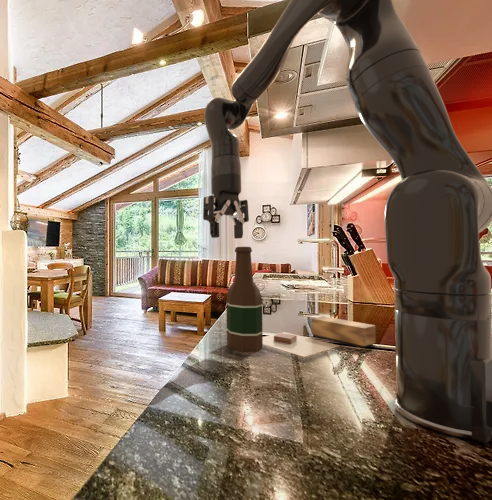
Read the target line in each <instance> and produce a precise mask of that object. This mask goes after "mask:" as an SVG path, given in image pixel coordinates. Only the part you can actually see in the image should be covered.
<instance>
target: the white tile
mask: <svg viewBox="0 0 492 500" xmlns="http://www.w3.org/2000/svg"><path fill="white" fill-rule="evenodd" d="M279 333H280V332H279ZM279 333H275V334H270V335H265V336H263V346H267V347H270V348H274V349H276V350H279V351H284V352H285V353H286V352H287V353H290V354H293V355H296V356H299V357H303V358H306V357H309V356H312V355H316V354H319V353H322V352H325V351H328V350H331V349H335V348H338V347H340V345H339V344H334V343H331V342H327V341H322V340H318V339H315V338H311V337H307V336H303V335H299V334H294V333H290V332H287V331H286V332H285V331H283V332H282V333H284V334H290V335H296V336H297V341H295V342H293V343H292V344H288V343H283V342H278V341H274V336H275V335H277V334H279Z"/></svg>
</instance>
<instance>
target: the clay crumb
mask: <svg viewBox="0 0 492 500" xmlns="http://www.w3.org/2000/svg"><path fill="white" fill-rule="evenodd" d="M276 334H277V335H275V336H274V341H278V342H283V343H288V344H292V343H293V342H295V341H297V336H296V335H297V334H294V335H290V334H291V333H290V334H284V333H283V332H279V334H278V333H276Z"/></svg>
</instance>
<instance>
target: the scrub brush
mask: <svg viewBox="0 0 492 500" xmlns="http://www.w3.org/2000/svg"><path fill="white" fill-rule="evenodd" d="M310 319H311V321H310V322H311V323H310V324H311V326H310V327H311V335H313V337H314V338H318V339H324V340H327V341H331V342H336V343H340V344H344V345H348V346H352V347H357V348H361V349H364V348H368V347H371V346H373V345H374V344H375V343H377V340H376V339H377V333H376V329H377V328H376V325H375V324H371V323H363V322H358V321H353V320H348V319H341V318H335V317H330V316H323V315H321V316H316V317H312V318H310Z"/></svg>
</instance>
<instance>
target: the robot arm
mask: <svg viewBox="0 0 492 500" xmlns="http://www.w3.org/2000/svg"><path fill="white" fill-rule="evenodd" d="M316 16H320V17H321V18H323V19H325V20H327V21H329V22H331V23H332V24H334V25H335V27H336V28H337V29H338V30H339V33H340V34H341V36H342V37H343V40H344V42H345V43H346V45H347V49H348V62H347V65H346V71H345V72H346V73H345V81H346V88H347V90H348V94H349V96H350V99H351V101H352V104H353V106H354V109H355V112H356V113H357V115H358V117H359V119H360V121H361V122H362V124H363V125H364V127H365V128H366V129H367V130H368V132H369V133H370V134H371V136H372V137H373V138H374V140H376V141H377V143H379V145H380V146H381V147H382V148H383V149H384V151H385V152H386V153H387V154H388V155H389V157H390V158H391V160H392V161H393V162H394V165H395V166H396V168H397V170H398V173H399V176H400V178H401V181H399V182H398V183H397V184H396V185H395V186H394V187H393V188H392V190H391V191H390V193H389V194H388V197H387V199H386V204H385V208H384V234H385V248H386V249H385V250H386V261H387V265H388V268H389V271H390V272H391V275H392V277H393V286H394V287H393V288H394V289H393V290H394V292H393V293H394V294H393V295H394V344H395V346H394V347H395V348H394V349H395V385H396V386H395V397H396V398H395V409H396V411H397V412H398V413H399V414H400V415H402V416H403V417H404V418H406V419H408V420H410V421H411V422H413V423H415V424H417V425H420V426H422V427H424V428H427V429H430V430H433V431H435V432H437V433H442V434H445V435H449V436H453V437H457V438H464V439H469V440H474V441H476V442H478V443H482V444H486V445H487V444H488V443H489V442H490V441H491V440H492V277H491V274H490V272H489V271H488V269H487V268H486V266H485V265H484V262H483V259H482V256H481V249H480V233H482V232H483V231H484V230H485V229H487V228H488V227H489V226H490V224H491V223H492V185H490V183H489V182H488V180H487V179H486V178H485V177H484V175H483V174H482V172H481V171H480V170H479V169H478V167H477V166H476V164H475V163H474V161H473V159H472V158H471V156H470V155H469V154H468V152H467V151H466V150H465V148H464V147H463V145H462V143H461V142H460V140H459V138H458V136H457V134H456V132H455V129H454V128H453V125H452V122H451V119H450V116H449V114H448V110H447V108H446V105H445V103H444V101H443V98H442V96H441V94H440V91H439V89H438V86H437V84H436V81H435V79H434V77H433V74H432V72H431V70H430V68H429V66H428V63H427V61H426V59H425V58H424V56H423V53H422V51H421V49H420V48H419V46H418V45H417V42H416V41H415V39H414V38H413V35H412V34H411V33H410V31H409V30H408V28H407V26H406V24H405V23H404V22H403V20H402V19H401V18H400V16H399V14H398V13H397V10H396V9H395V5H394V2H393V0H290V1H289V2H288V4H287V6H286V7H285V9H284V10H283V12H282V13H281V15H280V16H279V18H278V20H277V21H276V24H275V25H274V26H273V28H272V30H271V31H270V33H269V35H268V36H267V38H266V40H265V41H264V42H263V44H262V45H261V47H260V48H259V50H258V51H257V53H256V54H255V55H254V56H253V58H252V59H251V60H250V61H249V63H248V64H246V66H245V68H244V69H243V70H242V71H241V72H240V74H238V76H237V77H236V79H235V80H234V81H233V83H232V84H231V88H230V92H231V95H232V97H233V98H234V100H231V99H228V98H224V97H220V96H219V97H218V96H217V97H213V98H211V99H210V100H209V101H208V103H206V105H205V109H204V113H203V119H204V120H203V121H204V125H205V128H206V133H207V136H208V139H209V142H210V146H211V165H210V183H211V187H210V188H211V192H210V193H211V195H207V196H203V206H202V207H203V209H202V213H203V214H202V219H203V220H204V221H207V222H208V223H209V235H210V237H211V238H212V239H216V238H220V222H219V221H220V219H221V218H222V216H228V217H229V218H230V219H231V220H232V222H233V237H234V238H233V239H242V238H243V236H244V224H245V223H248V222H249V220H250V218H249V202H248V200H247V199H243V200H240V197H239V195H240V194H241V193H242V168H241V167H242V166H241V159H240V140H239V138H238V136H237V135H236V134H234V133H232V132H231V131H233V130H236V129H238V128H239V127H241V126H242V125H243V123H245V121H246V119H247V117H248V116H249V114H250V112H251V110H252V108H253V107H254V105H255V104H256V101H257V100H259V98H260V97H262V96H263V94H265V92H266V91H267V90H268V89H270V87H271V86H272V85H273V84H274V82H275V81H276V80H277V79H278V77H279V76H280V73H281V72H282V71H283V68H284V65H285V63H286V60H287V57H288V54H289V51H290V49H291V47H292V45H293V43H294V41H295V39H296V37H297V36H298V35H299V33H300V32H301V31H302V29H303V28H304V27H305V26H306V25H307V24H308V23H309V22H310V21H311V20H312V19H313V18H314V17H316Z"/></svg>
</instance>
